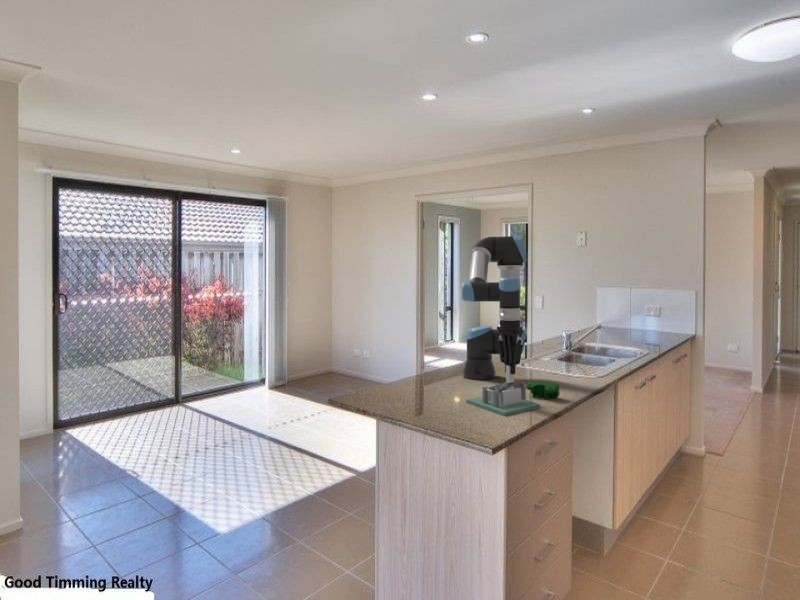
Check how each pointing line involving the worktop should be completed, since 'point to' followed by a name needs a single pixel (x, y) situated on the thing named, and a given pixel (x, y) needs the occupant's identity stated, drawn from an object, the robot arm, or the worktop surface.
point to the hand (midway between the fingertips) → (510, 382)
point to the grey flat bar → (506, 385)
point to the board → (504, 408)
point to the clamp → (543, 389)
